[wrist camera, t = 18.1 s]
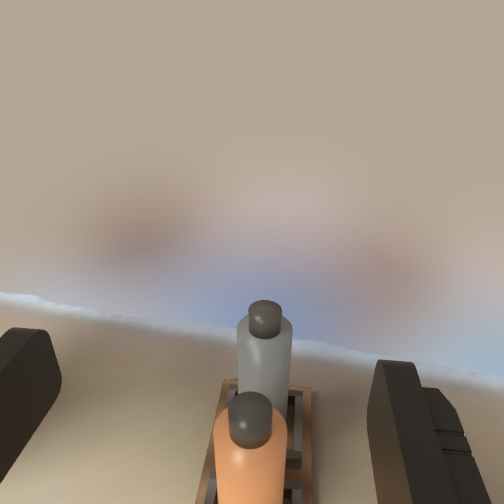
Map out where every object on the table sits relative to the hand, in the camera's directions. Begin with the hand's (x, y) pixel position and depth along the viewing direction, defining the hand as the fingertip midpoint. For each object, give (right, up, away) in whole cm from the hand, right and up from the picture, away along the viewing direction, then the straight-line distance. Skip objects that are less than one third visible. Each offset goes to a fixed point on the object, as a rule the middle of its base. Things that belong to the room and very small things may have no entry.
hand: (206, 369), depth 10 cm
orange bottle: (+1, -20, +23) cm, 31 cm away
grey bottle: (+2, -15, +32) cm, 35 cm away
